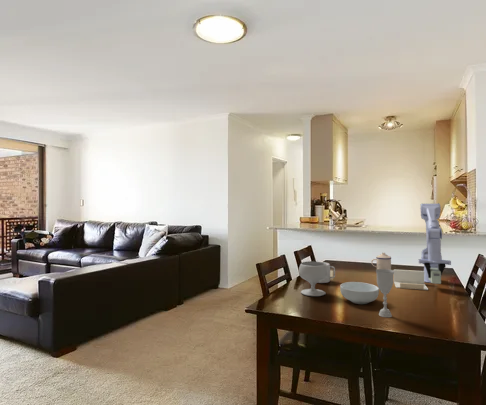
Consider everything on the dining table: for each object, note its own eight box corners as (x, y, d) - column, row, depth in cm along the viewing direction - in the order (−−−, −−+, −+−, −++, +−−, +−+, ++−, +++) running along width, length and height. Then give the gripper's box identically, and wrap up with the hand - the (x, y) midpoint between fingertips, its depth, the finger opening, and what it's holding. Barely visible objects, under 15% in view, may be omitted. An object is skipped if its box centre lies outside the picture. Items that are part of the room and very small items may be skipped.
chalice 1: (315, 288, 179) (315, 260, 179) (333, 295, 166) (333, 264, 166) (293, 291, 173) (293, 262, 173) (310, 299, 160) (309, 267, 160)
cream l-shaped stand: (393, 281, 190) (393, 269, 190) (423, 283, 185) (423, 271, 185) (396, 287, 178) (395, 274, 177) (428, 290, 173) (428, 276, 172)
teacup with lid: (391, 269, 221) (391, 252, 221) (391, 272, 213) (391, 254, 213) (371, 268, 226) (371, 251, 226) (371, 271, 217) (371, 253, 217)
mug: (310, 282, 191) (310, 265, 191) (311, 278, 201) (311, 261, 201) (335, 283, 188) (335, 265, 187) (334, 279, 198) (334, 262, 198)
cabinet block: (428, 279, 179) (428, 267, 179) (437, 279, 178) (437, 268, 178) (432, 283, 170) (432, 271, 170) (441, 284, 169) (441, 272, 169)
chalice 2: (390, 312, 141) (389, 268, 140) (398, 317, 134) (397, 272, 134) (372, 312, 140) (372, 269, 140) (379, 318, 134) (379, 272, 133)
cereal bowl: (353, 309, 145) (353, 292, 145) (333, 298, 161) (333, 283, 161) (387, 305, 150) (387, 289, 150) (364, 294, 166) (364, 280, 166)
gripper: (419, 252, 173) (420, 278, 173) (452, 253, 168) (452, 280, 168) (417, 250, 180) (417, 275, 180) (449, 251, 175) (449, 277, 175)
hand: (434, 277), depth 175 cm, fingers closed on cabinet block, 4 cm apart
